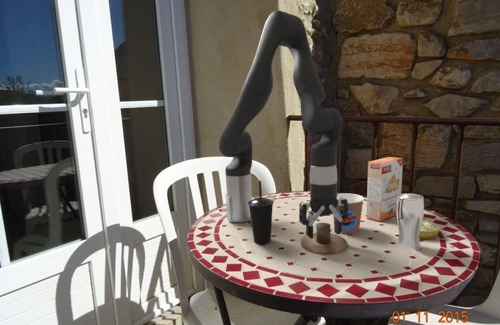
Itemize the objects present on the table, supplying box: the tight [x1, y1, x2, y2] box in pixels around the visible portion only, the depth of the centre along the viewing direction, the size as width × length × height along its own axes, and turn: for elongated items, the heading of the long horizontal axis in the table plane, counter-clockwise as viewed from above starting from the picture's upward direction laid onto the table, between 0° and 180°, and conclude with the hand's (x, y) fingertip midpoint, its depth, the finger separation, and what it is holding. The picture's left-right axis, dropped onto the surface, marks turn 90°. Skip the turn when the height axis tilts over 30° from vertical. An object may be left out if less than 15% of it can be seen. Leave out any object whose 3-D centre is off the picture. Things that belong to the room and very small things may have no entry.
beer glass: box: [395, 192, 425, 251], centre depth 96 cm, size 7×7×15 cm
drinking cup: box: [248, 180, 275, 245], centre depth 101 cm, size 8×8×20 cm
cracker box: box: [366, 156, 404, 222], centre depth 121 cm, size 14×6×21 cm, turn 129°
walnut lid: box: [300, 222, 348, 255], centre depth 98 cm, size 13×13×6 cm
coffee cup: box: [332, 192, 365, 235], centre depth 108 cm, size 10×10×12 cm
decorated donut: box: [419, 219, 441, 240], centre depth 106 cm, size 10×11×4 cm
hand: (323, 235), depth 97 cm, fingers open, 8 cm apart
